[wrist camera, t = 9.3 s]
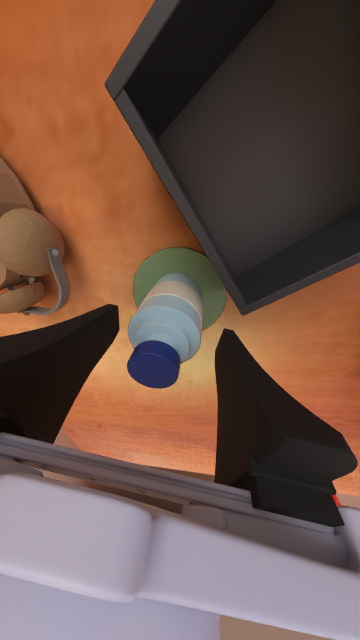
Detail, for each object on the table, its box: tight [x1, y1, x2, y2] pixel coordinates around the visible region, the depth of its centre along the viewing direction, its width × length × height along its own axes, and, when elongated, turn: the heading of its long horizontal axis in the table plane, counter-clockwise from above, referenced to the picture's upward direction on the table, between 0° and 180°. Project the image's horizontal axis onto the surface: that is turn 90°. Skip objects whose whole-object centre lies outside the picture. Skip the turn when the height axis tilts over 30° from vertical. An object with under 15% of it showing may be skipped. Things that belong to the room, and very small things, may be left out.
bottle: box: [127, 273, 203, 388], centre depth 12 cm, size 5×5×9 cm
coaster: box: [133, 247, 226, 331], centre depth 16 cm, size 9×9×1 cm
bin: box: [105, 0, 360, 316], centre depth 8 cm, size 11×11×5 cm
